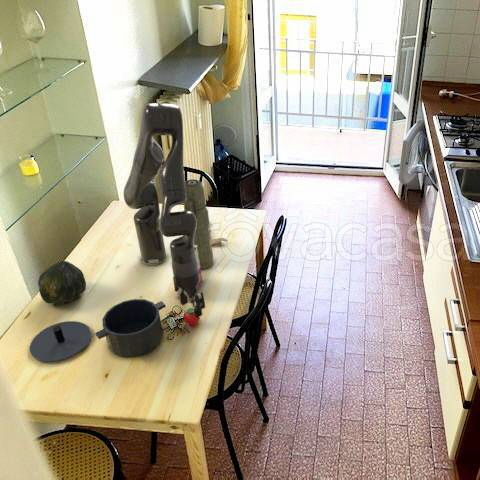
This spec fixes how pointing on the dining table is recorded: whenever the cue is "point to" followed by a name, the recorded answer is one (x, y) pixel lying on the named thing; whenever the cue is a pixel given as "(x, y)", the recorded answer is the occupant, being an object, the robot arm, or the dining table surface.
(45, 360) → the lid
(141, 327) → the pot
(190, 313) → the strawberry
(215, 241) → the jawbone
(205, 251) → the thermos
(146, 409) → the dining table surface
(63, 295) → the squash
